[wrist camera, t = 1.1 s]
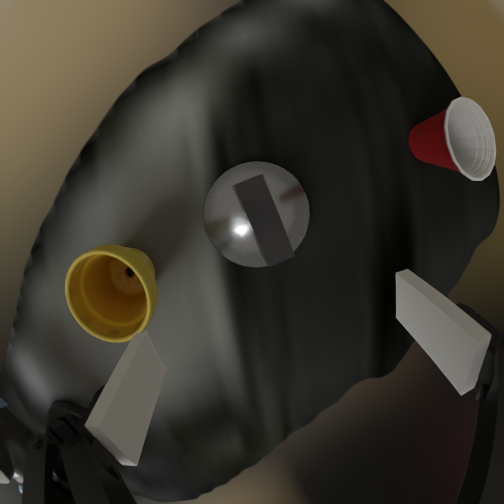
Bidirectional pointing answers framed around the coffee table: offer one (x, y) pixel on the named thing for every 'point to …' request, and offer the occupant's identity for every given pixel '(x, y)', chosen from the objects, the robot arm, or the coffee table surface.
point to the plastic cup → (457, 140)
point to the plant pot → (112, 292)
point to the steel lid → (256, 214)
